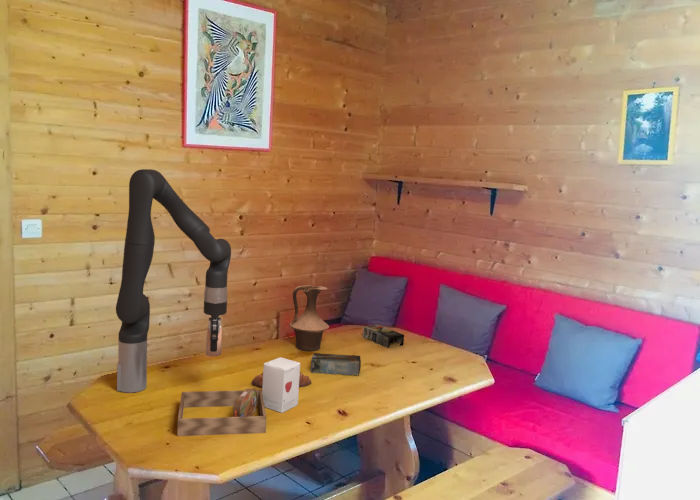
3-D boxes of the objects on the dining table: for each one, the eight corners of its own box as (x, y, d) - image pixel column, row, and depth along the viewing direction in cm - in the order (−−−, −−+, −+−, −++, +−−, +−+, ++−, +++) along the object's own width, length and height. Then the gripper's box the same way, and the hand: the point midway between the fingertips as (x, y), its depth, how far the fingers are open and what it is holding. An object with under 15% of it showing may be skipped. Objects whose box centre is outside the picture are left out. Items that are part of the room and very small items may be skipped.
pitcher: (293, 355, 252) (296, 289, 248) (282, 342, 268) (285, 280, 264) (333, 352, 259) (337, 288, 254) (320, 340, 274) (324, 280, 270)
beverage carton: (312, 366, 241) (313, 350, 240) (360, 370, 241) (361, 354, 240) (310, 373, 233) (311, 357, 232) (359, 377, 233) (361, 360, 232)
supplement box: (282, 413, 195) (284, 369, 193) (260, 406, 200) (262, 363, 198) (298, 405, 203) (301, 362, 201) (278, 398, 208) (280, 356, 205)
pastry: (282, 373, 231) (283, 353, 230) (313, 384, 222) (314, 364, 221) (250, 385, 218) (251, 364, 216) (282, 397, 209) (283, 375, 208)
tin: (240, 429, 183) (241, 403, 181) (230, 428, 183) (231, 401, 182) (257, 409, 197) (258, 385, 196) (248, 408, 198) (249, 384, 197)
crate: (177, 436, 176) (177, 419, 175) (181, 406, 196) (181, 391, 195) (265, 432, 182) (266, 417, 181) (260, 404, 202) (261, 390, 201)
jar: (205, 356, 200) (206, 327, 199) (205, 351, 205) (207, 323, 203) (221, 356, 201) (222, 328, 200) (221, 351, 206) (222, 323, 205)
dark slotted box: (360, 337, 284) (361, 324, 283) (376, 334, 290) (377, 322, 289) (387, 350, 269) (389, 336, 268) (404, 347, 275) (405, 334, 274)
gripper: (204, 293, 206) (202, 341, 209) (203, 304, 192) (201, 355, 195) (226, 294, 208) (224, 341, 211) (227, 305, 194) (225, 355, 197)
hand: (213, 348), depth 203 cm, fingers closed on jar, 5 cm apart
